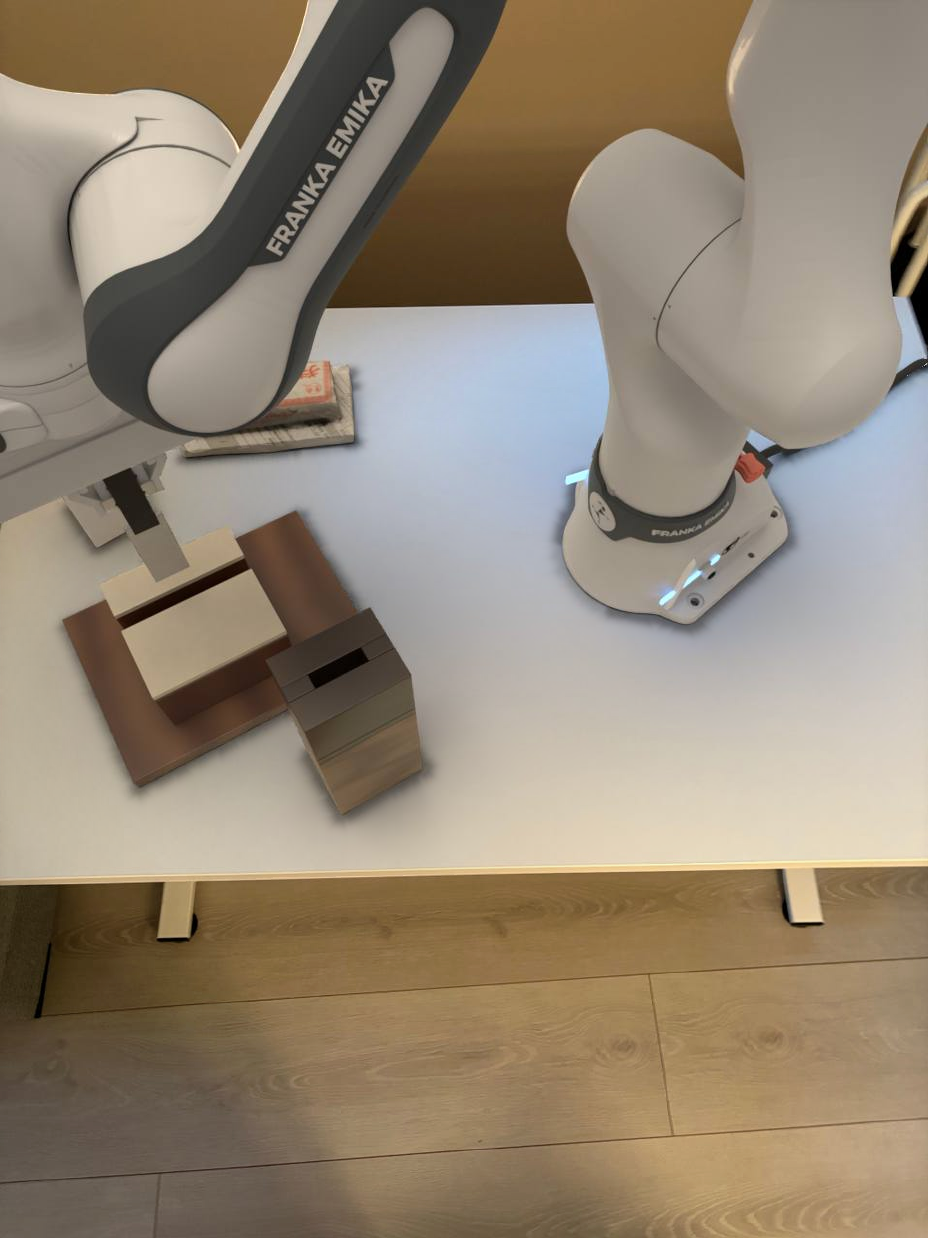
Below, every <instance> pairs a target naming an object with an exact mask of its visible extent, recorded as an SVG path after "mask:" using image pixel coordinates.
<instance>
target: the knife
mask: <svg viewBox="0 0 928 1238" xmlns="http://www.w3.org/2000/svg"><path fill="white" fill-rule="evenodd" d="M103 482H104V484H105V485H106V487H107V489H108V490H109V492H110V494H111V495H112V497H113V499H114V500H115V502H116V504H117V506H118V507H119V509H120V511H121V512H122V514H123V516H124V517H125V519H126V521H127V522H128V524H129V525H127V526H125V527H124V530H125V534H126V535H127V537H128V539H129V541H130V542H131V543H132V545H133V547H134V548H135V550H136V552H137V553H138V556H140V558H141V560H142V562H143V564H144V563H145V565H146V566H147V568H148V570H149V571H150V573H151V575H152V576H153V578H154V580H155V581H156V582H159V581H161V580H163V579H165V578H167V577H169V576H171V575H174V574H176V573H178V572H180V571H182V570H184V569H186V568H189V567H190V565H189V563H188V561H187V559H186V558H185V556H184V554H183V552H182V550H181V548H180V547H181V546H180V544H179V542H178V540H177V538H176V536H175V535H174V532H173V531H172V529H171V526H170V525H169V523H168V521H167V519H166V517H165V515H164V513H163V511H162V510H161V509H160V510H158V511H156V512H155V510H154V509H153V507H152V505H151V503H150V501H149V500H148V497H146V496H145V494H144V492H143V490H142V488H141V486H140V485H139V483H138V481H137V479H136V477H135V475H134V473H133V471H132V469H131V467H130V468H128V469H126V470H123V471H121V472H119V473H116V474H114V475H112V476H110V477H107V478H105V479H103Z"/></svg>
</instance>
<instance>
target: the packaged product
mask: <svg viewBox="0 0 928 1238" xmlns="http://www.w3.org/2000/svg"><path fill="white" fill-rule="evenodd" d="M355 427H356V426H355V419H354V412H353V387H352V381H351V374H350V369H349V364H344V365H337V366H333V365H332V364H331V361H330V360H314V361H313V360H312V361H308V362H307V365H306V367H305V370H304V372H303V374H302V375H301V377H300V379H299V380H298V382H297V383H296V384H295V386H294V387H293V389H292V390H291V391H290V393H289V394H288V395H287V396H286V397H285V398H284V399H283V400H282V402H281V403H280V404H279V405H278V406H276V407H275V408H274V409H273V410H272V411H271V412H269V413H268V414H267V415H266V416H264V417H263V418H261V419H260V420H258V421H257V422H255V423H253V424H251V425H250V426H248V427H246V428H244V429H241V430H239V431H236V432H233V433H230V434H226V435H221V436H214V437H199V438H197V439H195V440H192V441H190V442H188V443H186V444H183V445H181V446H179V447H180V453H181V455H182V456H183V458H192V457H193V458H194V457H195V458H196V457H203V456H211V455H212V456H215V455H232V454H235V455H236V454H253V453H254V454H255V453H257V454H259V453H274V452H280V451H288V450H293V449H301V448H312V447H320V446H330V445H339V444H348V443H354V441H355V429H356V428H355Z"/></svg>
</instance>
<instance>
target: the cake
mask: <svg viewBox="0 0 928 1238" xmlns="http://www.w3.org/2000/svg"><path fill="white" fill-rule="evenodd" d="M121 632H122V635H123V637H124V639H125V641H126V643H127V645H128V647H129V649H130V652H131V654H132V656H133V658H134V660H135V662H136V664H137V667H138V669H139V671H140V673H141V675H142V677H143V679H144V681H145V684H146V686H147V688H148V690H149V692H150V694H151V696H152V698H153V699H154V701H155V702H156V703H157V704H158V706H159V707H160V708H161V709H162V711H163V712H164V713H165V714H166V716H167V717H168V718H169V719H170V720H171V722H172V723H173V724H174V725H177V724H179V723H181V722H183V721H185V720H187V719H189V718H191V717H193V716H195V715H196V714H198V713H200V712H202V711H204V710H206V709H208V708H210V707H212V706H214V705H216V704H218V703H220V702H222V701H224V700H226V699H228V698H230V697H232V696H234V695H236V694H237V693H239V692H241V691H243V690H245V689H247V688H249V687H251V686H253V685H255V684H257V683H259V682H261V681H263V680H265V679H267V678H269V677H271V676H272V674H271V671H270V669H269V667H268V665H267V663H266V659H268V658H270V657H272V656H274V655H276V654H278V653H280V652H282V651H284V650H286V649H288V648H290V647H292V645H291V642H290V639H289V637H288V634H287V632H286V630H285V628H284V626H283V624H282V622H281V621H280V619H279V617H278V615H277V613H276V612H275V610H274V608H273V606H272V604H271V603H270V601H269V599H268V597H267V595H266V594H265V592H264V590H263V588H262V586H261V585H260V583H259V581H258V579H257V577H256V576H255V574H254V572H253V570H252V569H250V570H248V571H245V572H243V573H241V574H239V575H237V576H235V577H233V578H231V579H229V580H227V581H225V582H223V583H220V584H218V585H216V586H214V587H212V588H210V589H208V590H206V591H204V592H202V593H200V594H198V595H195V596H193V597H191V598H189V599H187V600H185V601H183V602H181V603H179V604H177V605H175V606H173V607H170V608H168V609H166V610H164V611H162V612H160V613H158V614H156V615H154V616H152V617H150V618H147V619H145V620H143V621H141V622H139V623H137V624H135V625H133V626H131V627H129V628H127V629H125V630H122V631H121Z"/></svg>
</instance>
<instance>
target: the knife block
mask: <svg viewBox="0 0 928 1238" xmlns="http://www.w3.org/2000/svg"><path fill="white" fill-rule="evenodd" d="M375 614H376V613H374V611H373V609H372V607H370V606H369V607H367V608H365V609H364V610H361V611H359V612H358V613H357V614H355V615H353V616H351V617H349V618H347V619H345V620H343V621H341V622H339V623H338V624H336V625H334V626H332V627H330V628H328V629H326V630H324V631H322V632H320V633H318V634H316V635H314V636H312V637H310V638H308V639H306V640H304V641H302V642H300V643H298V644H296V645H294V646H292V647H290V648H288V649H286V650H284V651H282V652H280V653H278V654H276V655H274V656H272V657H270V658H268V659H266V663H267V665H268V667H269V669H270V671H271V674H272V676H273V678H274V680H275V682H276V684H277V687H278V689H279V691H280V693H281V695H282V697H283V699H284V702H285V704H286V706H287V708H288V712H289V714H290V717H291V720H292V721H293V723H294V725H295V727H296V729H297V732H298V734H299V736H300V738H301V740H302V742H303V744H304V747H305V749H306V751H307V753H308V755H309V758H310V760H311V761H312V763H313V765H314V767H315V769H316V771H317V773H318V775H319V776H320V778H321V780H322V782H323V784H324V785H325V787H326V790H327V791H328V793H329V795H330V797H331V799H332V800H333V802H334V804H335V806H336V809H337V810H338V812H339V814H340V816H341V815H344V814H347V813H348V812H350V811H352V810H353V809H355V808H356V807H358V806H360V805H362V804H364V803H366V802H368V801H369V800H371V799H373V798H374V797H376V796H378V795H380V794H382V793H383V792H385V791H387V790H389V789H391V788H393V787H394V786H396V785H398V784H400V783H401V782H403V781H405V780H406V779H408V778H410V777H411V776H414V775H415V774H417V773H419V772H422V771H423V761H422V752H421V744H420V737H419V727H418V719H417V711H416V701H415V693H414V686H413V685H414V684H413V677H412V673H411V671H410V670H409V668H408V666H407V665H406V663H405V661H404V660H403V658H402V656H401V654H399V652H398V650H397V649H396V648H395V647H396V646H394V643H393V642H392V640H391V639H390V637H389V636H388V634H387V632H386V630H385V629H384V627H383V626H382V624H381V623H380V621H379V619H378V617H377V616H376V615H375Z"/></svg>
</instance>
